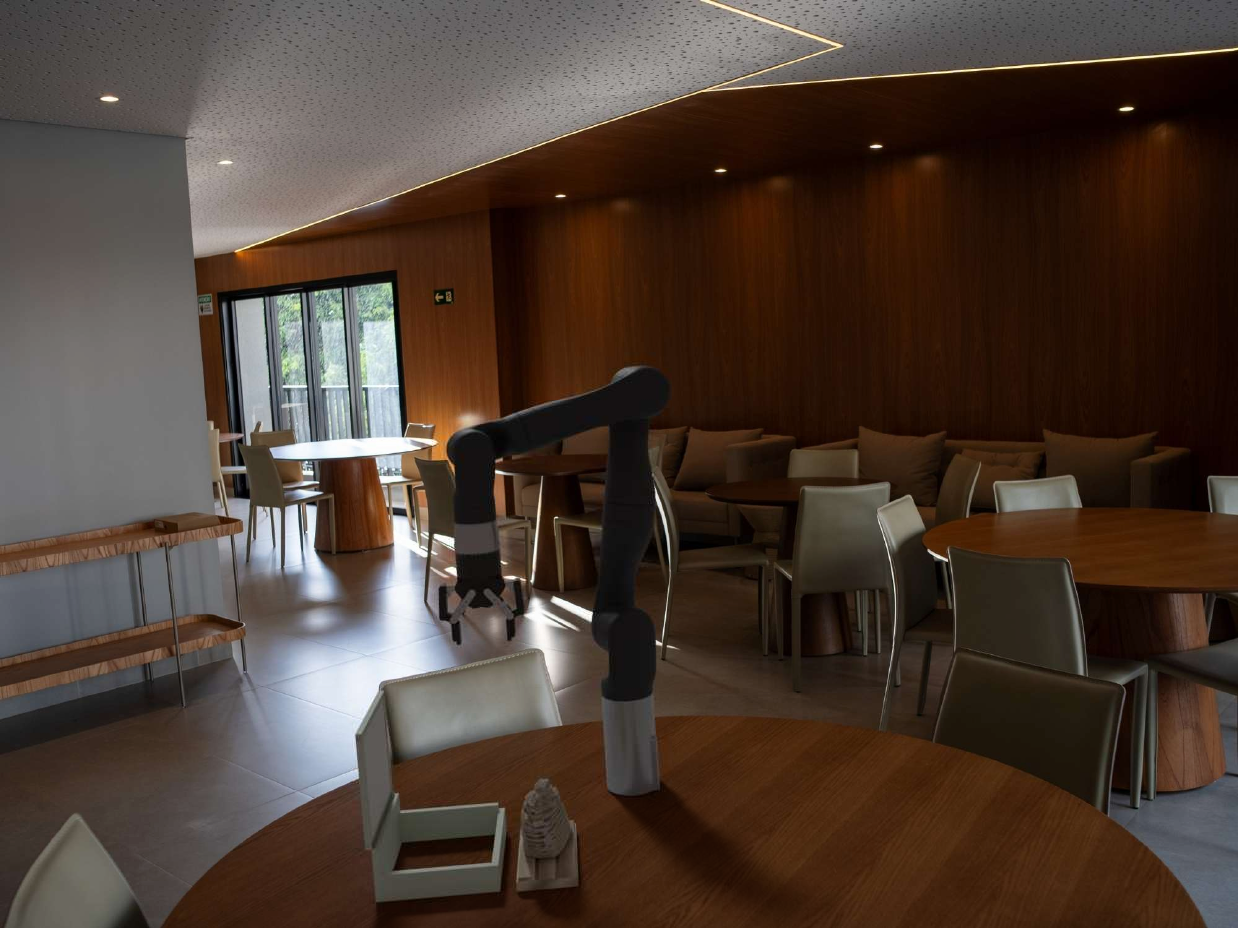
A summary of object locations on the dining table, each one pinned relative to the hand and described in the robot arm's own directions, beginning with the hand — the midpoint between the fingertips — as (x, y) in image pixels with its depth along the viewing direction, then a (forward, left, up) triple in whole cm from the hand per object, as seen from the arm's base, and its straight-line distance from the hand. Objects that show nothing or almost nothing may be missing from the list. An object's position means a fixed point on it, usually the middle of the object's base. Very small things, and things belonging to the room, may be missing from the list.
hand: (484, 641), depth 170 cm
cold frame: (+7, +17, -30) cm, 35 cm away
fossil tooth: (-9, +18, -28) cm, 35 cm away
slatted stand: (-9, +19, -30) cm, 36 cm away
